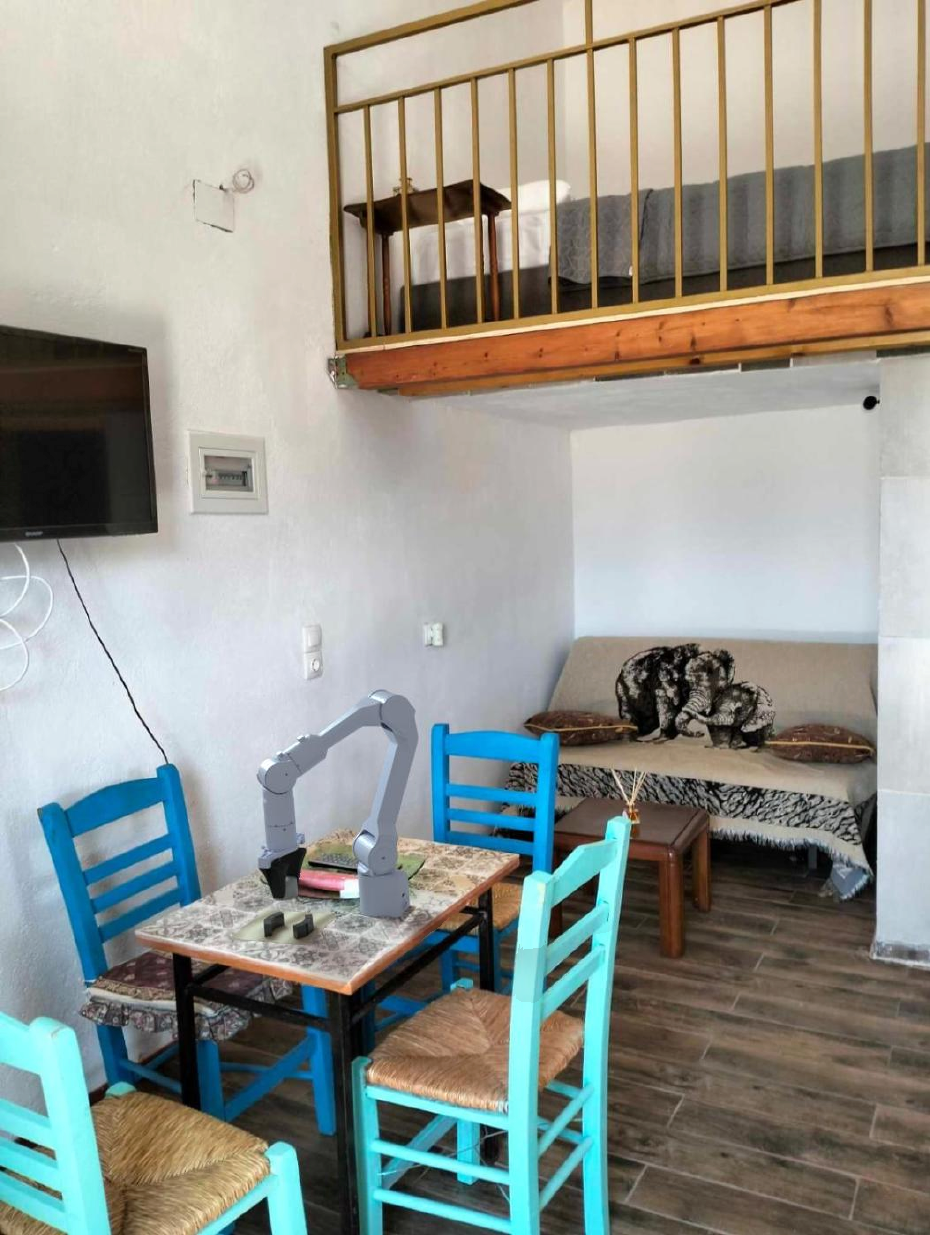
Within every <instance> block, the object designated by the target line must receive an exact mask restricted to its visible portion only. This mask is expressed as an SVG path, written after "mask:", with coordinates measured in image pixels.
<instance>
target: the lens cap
mask: <svg viewBox="0 0 930 1235" xmlns="http://www.w3.org/2000/svg"><path fill="white" fill-rule="evenodd" d="M298 896H299V892H298V887H297V878H296V877H294V876H286V882H285V897H284V898H283V899H278V898H273V896H272V895H271V897H272V900H274V901H279V902H281V901H282V902H283V901H289V900H293V899H295V898H296V897H298Z"/></svg>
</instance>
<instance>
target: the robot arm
mask: <svg viewBox="0 0 930 1235" xmlns="http://www.w3.org/2000/svg"><path fill="white" fill-rule="evenodd" d="M415 716H416V709H415V708H414V706H413V705H412V703H411V701H410V700H409V699H408V698H407V697H405V696H404V695H401V694H397V693H392V692H390V691H388V690H386V689H375V690H374V691H371V693H370V694H368V695H367V696H364V697H362V698H361V699H360V700H359V701H358V702H357V703H356V704H355V705H353V707H351V708H350V709H348V710H347V711H346V712H345V713H343V714H342V715H341V716H339V717H338V718H337V719H335V721H333V722H332V723H331V724H330V725H328V726H327V727H326V728H324V729H323V730H321V732H319V733H318V734H313V733H307V734H306V735H303V734H301V735H299V736H298V737H296V740H297V741H296V742H295V743H293V744H292V745H290V746H289V747H287V748H286V749H285V750H283V751H281V750H280V751H278V752H276V755H275V756H276V757H270V758H267V759H266V760H264V761H263V762H262V763H261V764H260V767H259V768H258V771H257V774H256V779H257V781H258V783H259V784H260V785H261V786H262V788H261V789H262V806H263V807H262V810H263V818H264V819H263V820H264V822H263V823H264V832H265V841H266V842H264V843H263V844H262V845H261V850H263V851H262V853H261V855H260V856H259V857H258V858H257V860H258V861H257V863H258V864H257V866H258V870H260V872H261V874H262V875H263V876H264V878H265V880H266V882H267V884H268V886H269V890H270V893H271V897H272V896H273V898H278V899H283V898H284V897H285V882H286V876H294V877H296V878H297V888H298V887H299V882H300V879H301V875H300V871H301V870H302V866H303V863H304V860H305V857H306V855H307V853H308V849H307V848H306V847H300V845H304V844H305V843H306V838H305V833H304V832H297V824H296V812H295V810H296V809H295V800H294V794H293V793H294V792H293V788H294V787H295V785H296V782H297V779H298V778H300V777H302V776H303V775H305V774H306V773H307V772H309V771H310V770H311V769H313V768H315V767H316V766H317V765H319V764H320V763H321V762H323V761H324V760H325V759H326V758H327V755H328V751H329V749H330V748H332V747H334V746H335V745H336V744H338V743H339V742H341V741H342V740H344V739H346V738H348V736H350V735H352V734H353V733H355V732H356V731H358V730H359V729H361V728H363V727H381V728H382V730H383V732H384V733H385V735H386V736H387V738H388V739H389V745H388V748H387V752H386V755H385V760H384V763H383V767H382V770H381V774H380V777H379V781H378V784H377V790H376V792H375V796H374V799H373V803H372V807H371V810H370V813H369V814H370V815H369V817H368V818H367V819H366V820H365V821H364V822H363V823H362V825H361V828H360V831H359V833H358V834H357V835H356V836H355V838H354V839H353V840H352V845H351V850H352V854H353V856H354V858H355V859H357V860H358V865H357V879H358V881H357V882H358V892H359V893H358V894H359V905H360V906H359V907H360V908H359V909H360V913H361V914H362V915H364V916H367V917H375V918H377V917H378V918H379V917H391V918H401V916H402V915H403V914H404V912H405V911H406V910H407V909H408V908H409V907H411V902H410V901H411V900H410V887H409V876H408V873H407V871H405V870H403V869H402V870H401V869H398V868H396V867H395V866H396V865H397V862H398V858H399V853H398V841H399V835H398V830H397V826H396V824H397V820H398V817H399V813H400V809H401V805H402V802H403V799H404V795H405V791H406V787H407V784H408V780H409V776H410V773H411V769H412V765H413V761H414V758H415V753H416V750H417V746H418V743H419V732H418V727H417V723H416V718H415ZM301 872H302V871H301ZM299 878H300V879H299ZM273 898H272V899H273Z"/></svg>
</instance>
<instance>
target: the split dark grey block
mask: <svg viewBox="0 0 930 1235" xmlns="http://www.w3.org/2000/svg"><path fill="white" fill-rule="evenodd" d="M263 924H264V936H265V937H269V936H272V932H273V931H274V930H275V929H276V928H279V927H281V926H284V925H285V921H284V913H282V912H277V913H274V914H271V915H269V916H268V917H267V918H265V919H264V921H263ZM313 930H314V925H313V915H312V914H307V915H305V919H304V920H303V921H302V922H300V923H298V924H295V925H293V937H294V938H295V939H297V940H298V939H301V938H304V937H306V936H307V935H309V934H311V933H312V932H313Z"/></svg>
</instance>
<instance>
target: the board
mask: <svg viewBox="0 0 930 1235" xmlns="http://www.w3.org/2000/svg"><path fill="white" fill-rule="evenodd" d="M277 912H282V913H284V921H285V925H284V926H281V927H279V928H276V929H275V930H274V931H273V932H272V936H269V937H265V936H264V924H263V921H264V919H265V918H267V917H268V916H269V915H271V914H274V913H277ZM307 914H312V915H313V925H314V930H313V932H312V933H311V934H309V935H307V936H306V937H304V938H301V939H298V940H297V939H295V938H294V937H293V925H295V924H298V923H300V922H302V921H303V920H304V919H305V915H307ZM338 916H339V914H334V913H332V914H331V913H320V912H319V913H318V912H308V911H307V912H305V911H292V910H290V911H289V910H277V909H264V910H263V911H262V912H260V913H259V915H257V916H256V917H254V918H253V919H252V920H250V921H249V922H248V923H247V924H245V925H244V926H243V927H242V928H241V929H239V930H237V932H235V933H234V934H233V935H232V936H230V937H229V938H228V939H229V940H239V941H240V940H242V941H253V942H263V943H265V942H266V943H274V944H276V943H277V944H289V945H299V946H301V945H302V946H306V945H307V944H309V943H310V942H311V941H312V940H313V939H314V938H315V937H316V936H317V935H319V933H320V932H322V931H323V929H325V928H326V927H327V926H328V925H329V924H330V923H331V922H333V920H334V919H336V918H337V917H338Z"/></svg>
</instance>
